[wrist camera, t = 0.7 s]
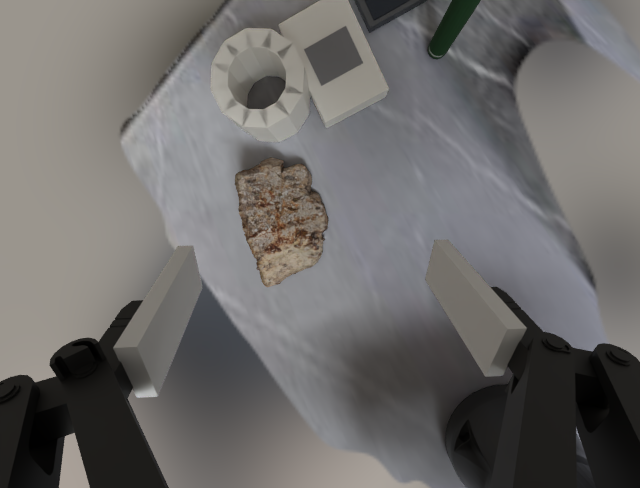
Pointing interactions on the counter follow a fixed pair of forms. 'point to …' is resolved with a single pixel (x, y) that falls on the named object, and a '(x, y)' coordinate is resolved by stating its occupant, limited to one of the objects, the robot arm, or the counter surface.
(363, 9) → the phone
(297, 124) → the block
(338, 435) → the counter surface
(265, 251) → the rock
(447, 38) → the flashlight
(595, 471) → the robot arm
